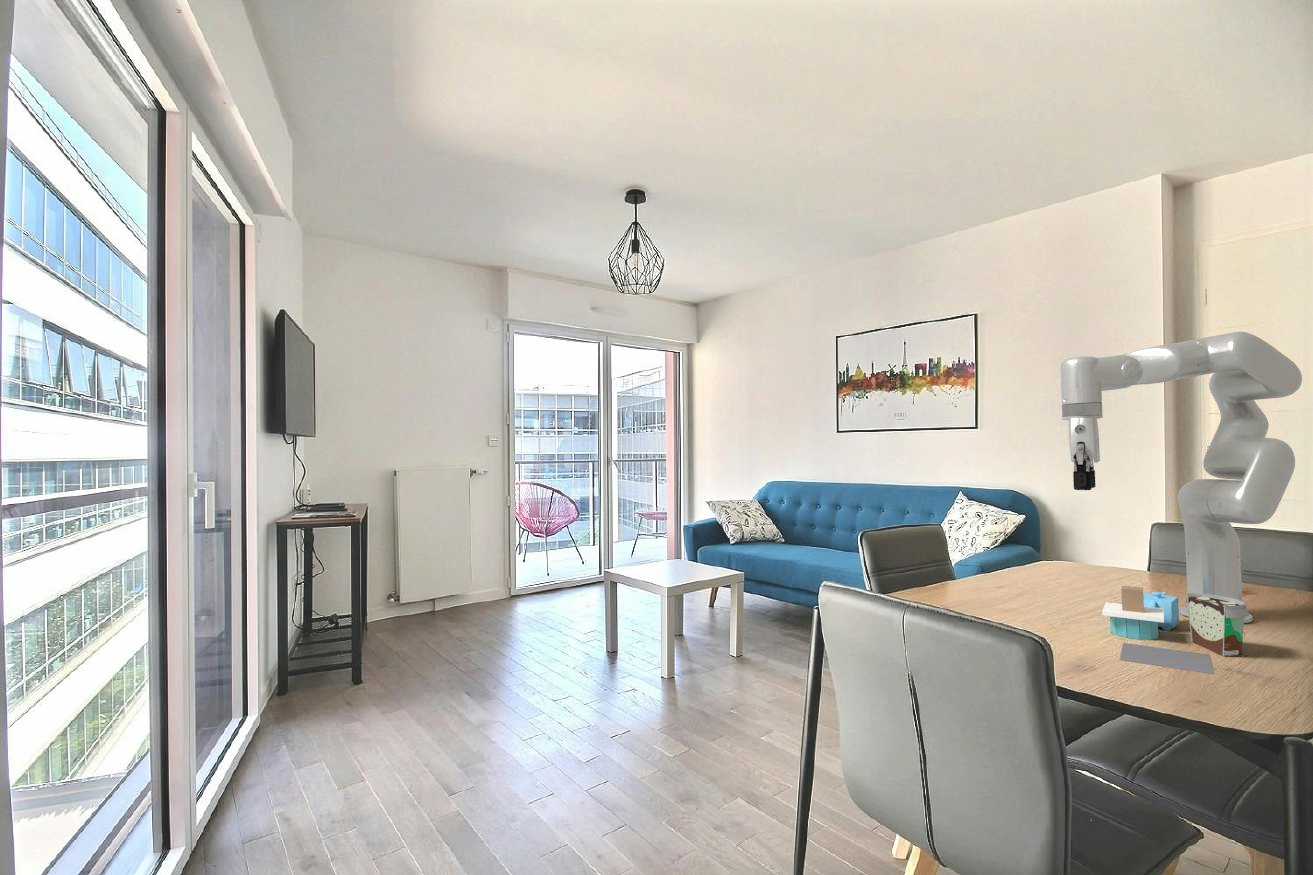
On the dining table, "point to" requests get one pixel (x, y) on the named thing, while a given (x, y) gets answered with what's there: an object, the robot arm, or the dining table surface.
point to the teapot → (1169, 608)
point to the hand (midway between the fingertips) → (1084, 488)
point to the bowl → (1134, 628)
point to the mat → (1167, 658)
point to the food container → (1217, 623)
